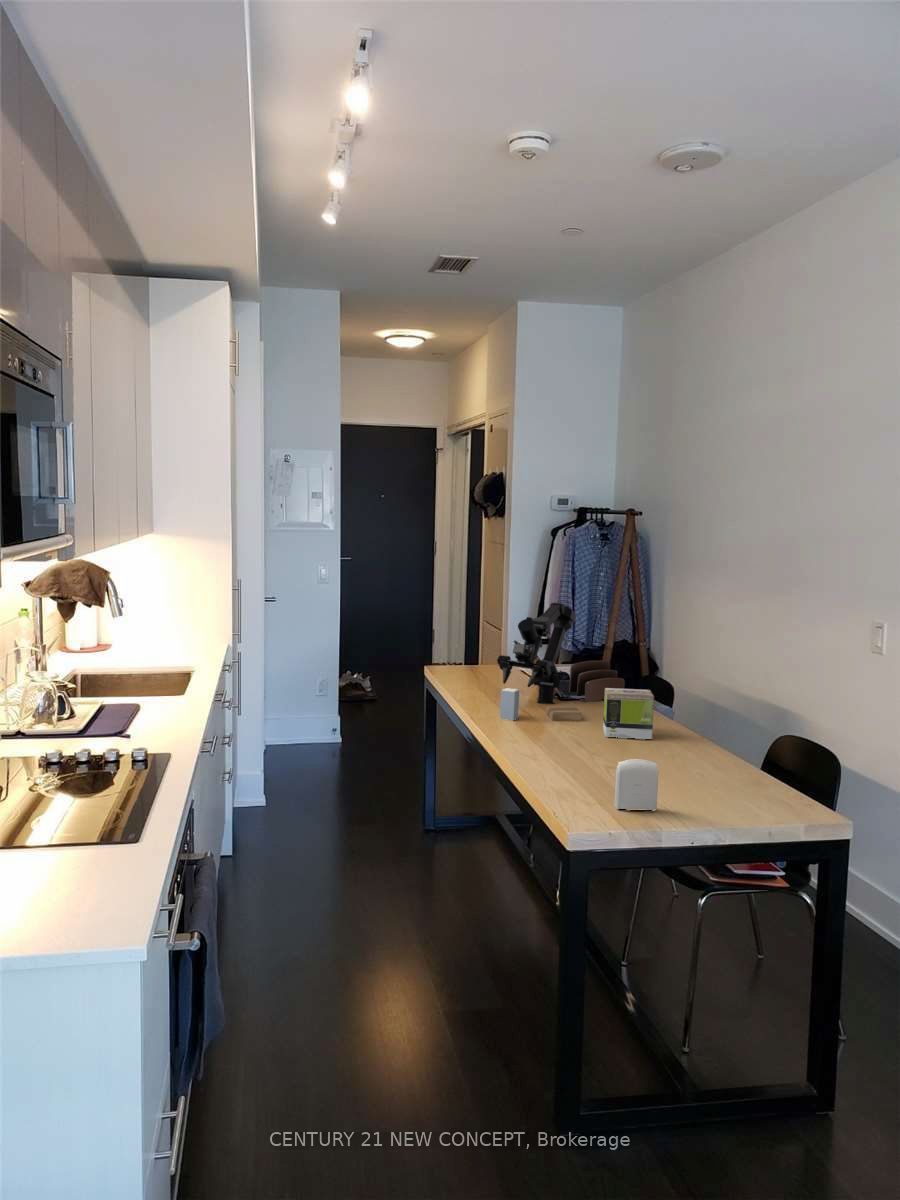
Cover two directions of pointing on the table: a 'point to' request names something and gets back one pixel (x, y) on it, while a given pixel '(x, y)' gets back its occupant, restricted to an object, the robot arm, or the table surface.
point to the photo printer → (636, 784)
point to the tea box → (628, 713)
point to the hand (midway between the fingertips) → (515, 684)
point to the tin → (509, 704)
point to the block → (563, 713)
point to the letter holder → (593, 679)
